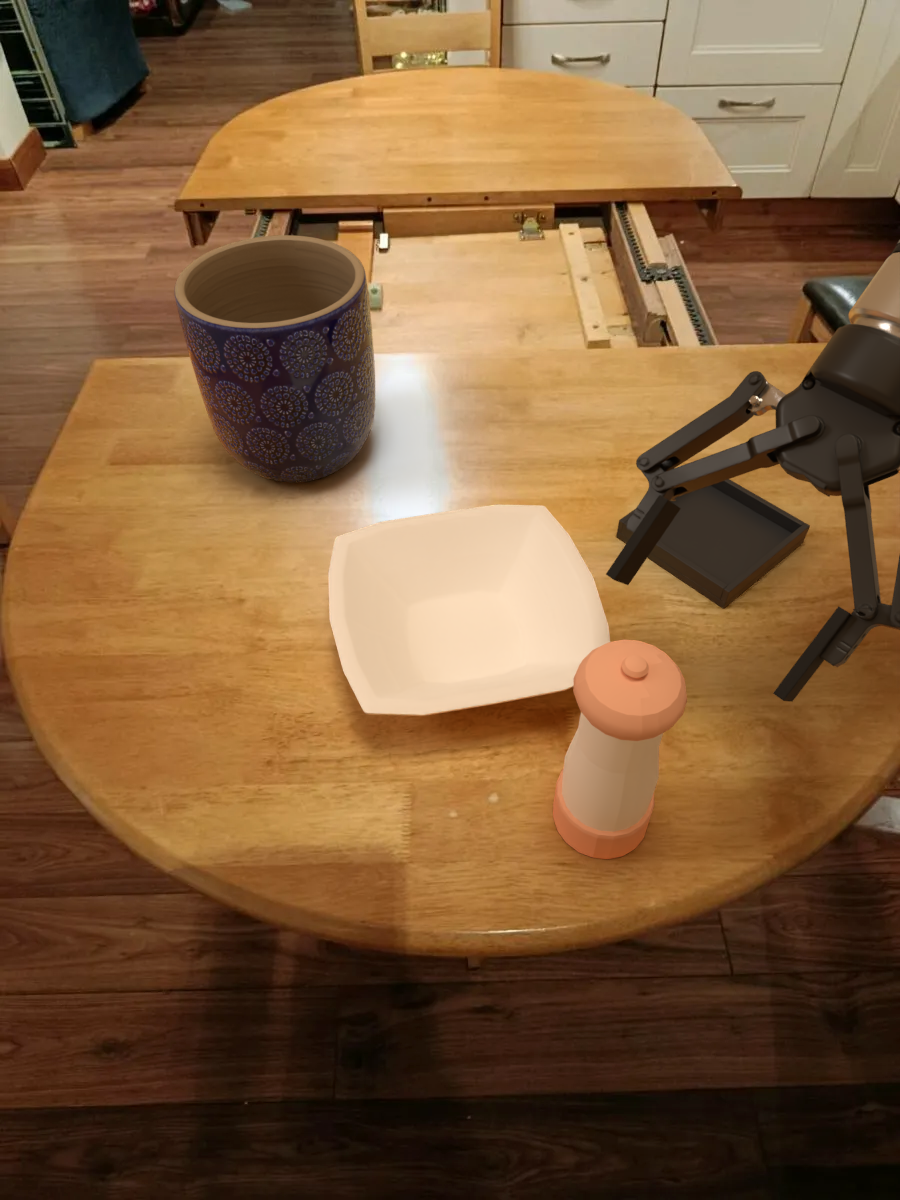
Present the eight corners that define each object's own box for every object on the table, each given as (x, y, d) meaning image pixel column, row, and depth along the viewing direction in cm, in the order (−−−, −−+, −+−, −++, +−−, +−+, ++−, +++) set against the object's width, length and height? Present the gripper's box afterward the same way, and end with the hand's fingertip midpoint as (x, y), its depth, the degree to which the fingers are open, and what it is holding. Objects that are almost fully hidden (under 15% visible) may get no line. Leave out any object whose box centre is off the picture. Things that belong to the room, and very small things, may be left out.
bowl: (627, 717, 71) (637, 676, 67) (352, 768, 68) (345, 728, 64) (552, 536, 86) (557, 494, 82) (324, 572, 83) (316, 529, 79)
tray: (803, 542, 85) (810, 525, 83) (723, 608, 79) (729, 592, 77) (696, 479, 92) (701, 462, 90) (615, 536, 86) (618, 519, 84)
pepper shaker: (663, 802, 66) (716, 647, 52) (622, 877, 62) (668, 732, 48) (579, 758, 69) (608, 600, 54) (535, 828, 65) (553, 676, 50)
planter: (350, 516, 89) (326, 339, 73) (190, 488, 92) (135, 313, 77) (402, 414, 100) (391, 243, 85) (259, 392, 104) (223, 225, 88)
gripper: (1107, 463, 48) (873, 754, 53) (742, 300, 61) (579, 547, 66) (1123, 424, 42) (856, 758, 47) (713, 252, 55) (535, 528, 60)
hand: (694, 635), depth 56 cm, fingers open, 13 cm apart
